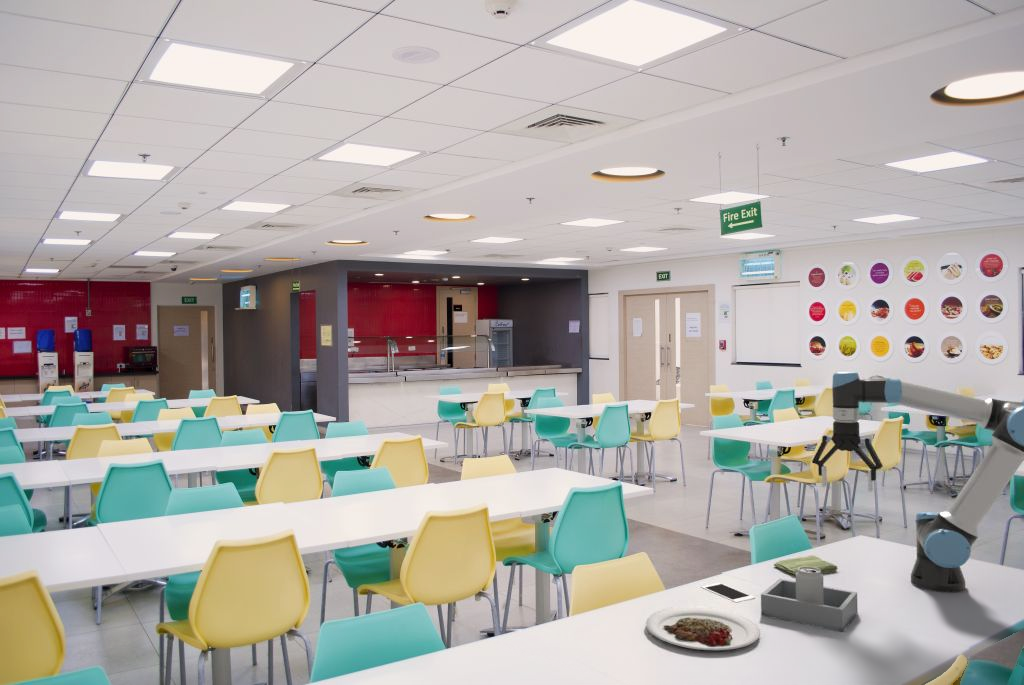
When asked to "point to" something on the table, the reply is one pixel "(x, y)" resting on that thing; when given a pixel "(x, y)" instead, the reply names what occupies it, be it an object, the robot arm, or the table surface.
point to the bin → (809, 606)
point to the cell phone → (728, 592)
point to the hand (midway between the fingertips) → (847, 488)
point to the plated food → (703, 628)
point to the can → (809, 585)
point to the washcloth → (805, 564)
